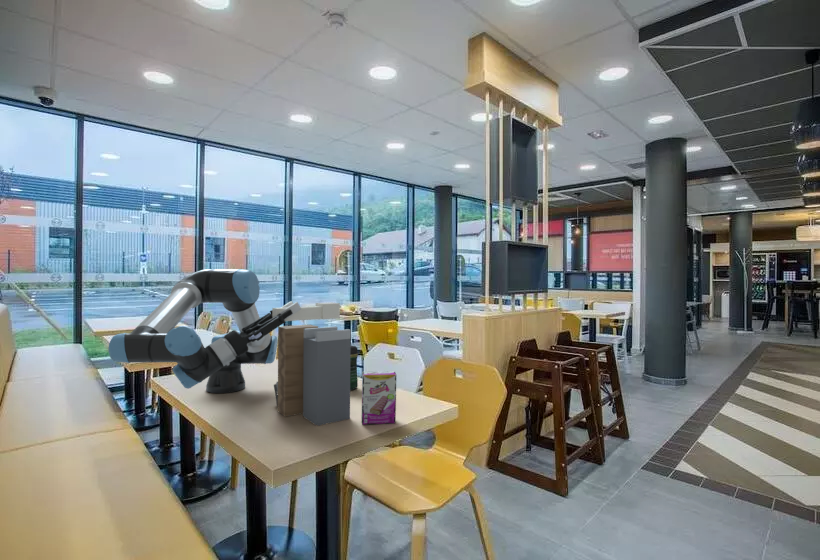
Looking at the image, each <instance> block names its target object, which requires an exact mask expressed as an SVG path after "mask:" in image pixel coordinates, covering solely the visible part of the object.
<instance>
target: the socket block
mask: <svg viewBox="0 0 820 560" xmlns="http://www.w3.org/2000/svg"><path fill="white" fill-rule="evenodd" d="M351 331H352V330H351V329H349V328H346V329H338V326H324V327H318V328H307V329H304V353H303V413H302V417H303V416H304V417H305V418H304V417H303V418H304V419H306V420H307V419H308V421H309V422H310V421H311V423H312V424H313V423H314V424H313V425H315V426H316V425H318V426H321V425H322V424H323V425H326V423H328V424H331V422H332V423H336V421H337V422H340V421H341V422H342V421H346V420H349V419H351V390H350V347H351V346H352V345H351V337H352V336H351V335H352V334H351ZM345 419H346V420H345Z"/></svg>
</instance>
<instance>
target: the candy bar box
mask: <svg viewBox="0 0 820 560" xmlns="http://www.w3.org/2000/svg"><path fill="white" fill-rule="evenodd" d="M361 373H362V374H361V376H362V379H361V415H360V416H361V425H364V426H365V425H387V424H388V425H389V424H396V417H397V416H396V415H397V413H396V411H397V408H396V407H397V373H396V371H393V370H389V371H385V370H384V371H362V372H361Z"/></svg>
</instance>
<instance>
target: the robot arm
mask: <svg viewBox="0 0 820 560" xmlns="http://www.w3.org/2000/svg"><path fill="white" fill-rule="evenodd" d="M260 292H261V291H260V282H259V279H258V277H257V275H256V273H255V272H254V271H253V270H250V269H243V268H237V269H236V268H230V269H223V268H221V269H219V268H217V269H215V268H214V269H213V268H206V269H201V270H198V271H195V272H193V273H191V274H189V275H187V276H185V277H183V278H182V279H181V280H179V281H178V282H177V283H176V284H175V285H174V286H172V288H171V290H170V293H169V295H168V296H167V297H166V298H165V299H164V300H162V302H161V303H160V304H159V305H158V306H156V307H155V309H154V310H153V311H152V312H151V313H149V315H148V316H146V318H144V319H143V320H142V322H140V323H139V324H138V325H137V326H136V327H135V328H134V329H133V330H132V331H131V332H129V333H127V332H123V333H118V334H115V335H114V336H112V337H111V339H110V341H109V343H108V353H109V358H110V359H111V361H113V362H116V363H127V364H131V363H132V364H133V363H176V365H174V366H173V367H172V372H173V373H174V375H175V377H176V378H177V380H178V381H179V382H180V384H181V385H182V387H184V388H185V389H191V388H193V387H195V386H196V385H199V384H200V383H202V382H203V381H205V380H206V379H208V380H207V382H206V385H205V387H206V389H205V390H206V392H208V393H211V394H229V393H235V392H238V391H239V392H240V391H242V390H244V389H245V388H246V380H245V377H244V375H243V372H242V371H243V370H242V365H253V364H255V365H258V364H259V365H261V364H263V365H266V364H273V363H274V362H275V359H276V356H277V355H276V354H277V351H278V336H276V335H271V334H270V333H271V332H273V331H274V330H276V329H278V327H280V326H283V324H286V323H287V321H285V320H286V319H287V318H289V317H290V316H292V315H293V314H295V313H296V312H298V311H300V310H301V307H302V306H301V305H300V304H299V302H298V301H296V302H294V303H293V301H292V300H291V301H288V302H287V303H286V304H284V305H282V306H281V307H280V308H284V307H288V308H286V309H285V310H283V311H281V312H280V313H279V314H278V315H277V316H275V317H273V318H272V309H271V310H270V311H269V313H266V314H264V316H261V317H260V315H259V312H258V310H257V306H256V302H257V301H258V300H259V298H260ZM205 303H206V304H207V303H211V304H214V303H215V304H219V303H220V304H221V303H222V305H223V307H224V308H225V310H227V311H228V312H231V315H232V317H233V319H234V322H235V324H236V326H237V327H238V328H237V329H238V330H239V332H238V331H237V330H235V329H233V330H231V331H230V332H228V333H223V334H222V333H221V334H218V335H215V336H213V337H212V338H211V340H210V342H211V343H210V344H208V345H206V346H204V344H203V342H202V339H201V337H200V336H199V335H198V334H197V332H196V330H195V329H194V328H193V327H191V326H189V325H179V326H177V325H178V324H179V323H180V322H181V321H182V320H183V319H184V317H185V316H186V315H187V314H188V313H189V312H190V310H191V309H195V308H197V307H198V306H199V305H200V304H205Z"/></svg>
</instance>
